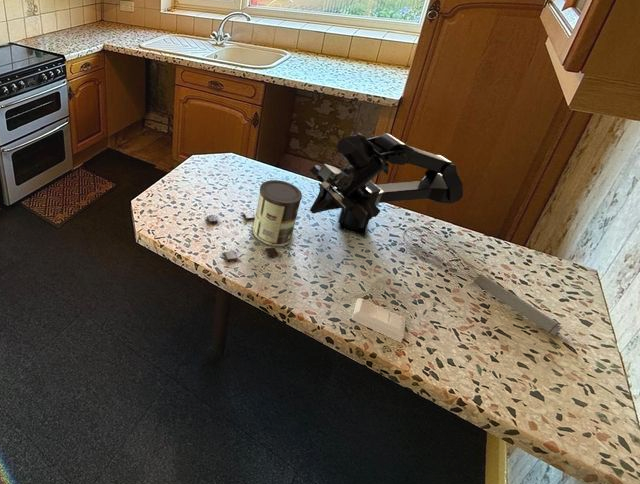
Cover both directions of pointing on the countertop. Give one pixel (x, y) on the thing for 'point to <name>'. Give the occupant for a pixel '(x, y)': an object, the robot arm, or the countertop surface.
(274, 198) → the coffee can
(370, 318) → the soap bar
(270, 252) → the tabs
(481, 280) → the kitchen whisk
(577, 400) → the countertop surface
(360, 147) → the robot arm
